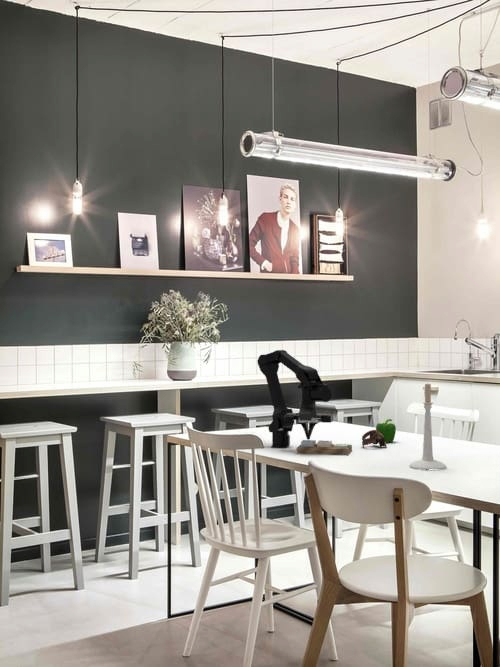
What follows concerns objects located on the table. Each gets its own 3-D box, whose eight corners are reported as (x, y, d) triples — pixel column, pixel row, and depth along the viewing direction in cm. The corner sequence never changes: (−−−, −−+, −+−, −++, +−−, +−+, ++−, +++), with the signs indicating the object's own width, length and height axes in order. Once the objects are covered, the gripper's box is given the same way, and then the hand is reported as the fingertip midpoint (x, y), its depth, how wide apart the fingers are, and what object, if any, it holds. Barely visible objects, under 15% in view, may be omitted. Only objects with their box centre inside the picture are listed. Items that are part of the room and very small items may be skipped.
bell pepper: (373, 443, 365) (373, 419, 365) (378, 440, 372) (378, 417, 372) (393, 444, 361) (393, 420, 361) (397, 441, 369) (397, 418, 369)
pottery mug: (389, 450, 347) (380, 433, 346) (368, 460, 349) (359, 443, 347) (386, 439, 359) (378, 422, 357) (366, 448, 360) (357, 432, 359)
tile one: (301, 447, 340) (301, 441, 340) (303, 445, 345) (303, 439, 345) (313, 448, 338) (313, 441, 338) (315, 446, 343) (315, 440, 343)
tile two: (317, 448, 338) (317, 441, 338) (319, 446, 343) (319, 440, 343) (330, 448, 337) (330, 442, 337) (331, 446, 342) (331, 440, 342)
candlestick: (428, 463, 314) (428, 380, 313) (454, 468, 303) (454, 383, 302) (401, 466, 307) (401, 382, 306) (427, 471, 296) (427, 384, 296)
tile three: (333, 451, 337) (333, 445, 337) (335, 449, 341) (335, 443, 341) (346, 451, 335) (346, 445, 335) (348, 450, 340) (348, 443, 340)
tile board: (296, 453, 337) (296, 447, 337) (302, 449, 348) (302, 443, 348) (347, 455, 332) (347, 449, 332) (351, 450, 343) (351, 444, 343)
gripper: (281, 401, 336) (281, 441, 336) (328, 402, 331) (328, 443, 331) (286, 399, 347) (286, 437, 347) (332, 400, 342) (332, 439, 342)
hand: (308, 439), depth 342 cm, fingers closed
